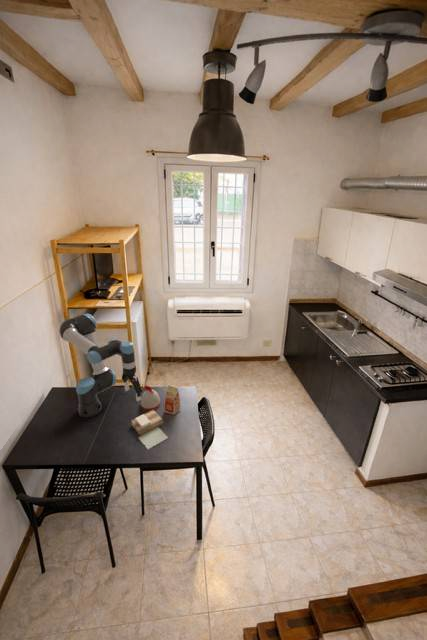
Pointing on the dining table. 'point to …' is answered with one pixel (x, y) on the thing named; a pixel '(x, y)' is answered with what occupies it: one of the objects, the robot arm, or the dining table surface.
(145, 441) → the mat
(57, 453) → the dining table surface
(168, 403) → the milk carton
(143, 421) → the white flat block
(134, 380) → the robot arm
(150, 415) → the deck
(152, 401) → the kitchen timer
